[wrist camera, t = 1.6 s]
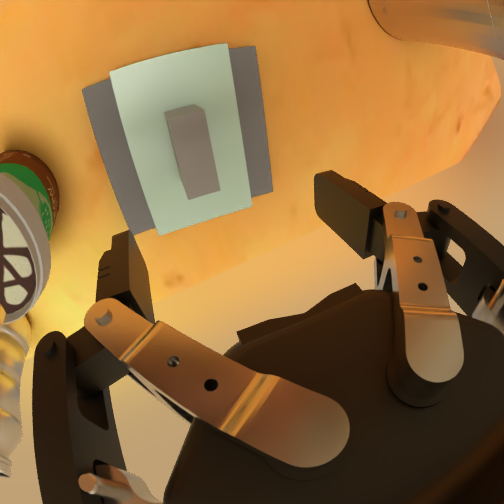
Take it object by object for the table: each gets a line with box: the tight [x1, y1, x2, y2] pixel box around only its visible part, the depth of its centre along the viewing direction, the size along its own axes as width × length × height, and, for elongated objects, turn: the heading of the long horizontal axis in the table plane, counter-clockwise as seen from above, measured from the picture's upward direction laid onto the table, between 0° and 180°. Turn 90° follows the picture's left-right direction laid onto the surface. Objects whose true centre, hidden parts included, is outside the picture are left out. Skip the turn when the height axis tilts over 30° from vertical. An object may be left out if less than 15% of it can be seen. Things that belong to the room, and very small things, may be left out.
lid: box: [109, 43, 252, 236], centre depth 20 cm, size 9×15×5 cm, turn 8°
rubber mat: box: [82, 46, 273, 235], centre depth 22 cm, size 14×14×1 cm
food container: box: [0, 150, 59, 324], centre depth 16 cm, size 12×6×10 cm, turn 176°
